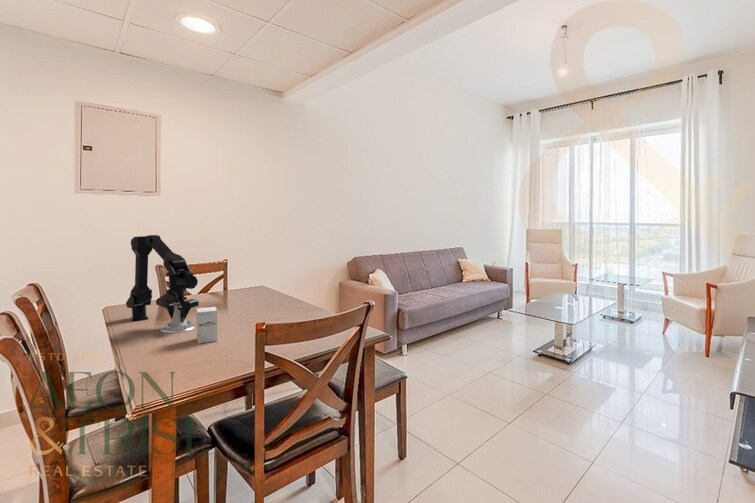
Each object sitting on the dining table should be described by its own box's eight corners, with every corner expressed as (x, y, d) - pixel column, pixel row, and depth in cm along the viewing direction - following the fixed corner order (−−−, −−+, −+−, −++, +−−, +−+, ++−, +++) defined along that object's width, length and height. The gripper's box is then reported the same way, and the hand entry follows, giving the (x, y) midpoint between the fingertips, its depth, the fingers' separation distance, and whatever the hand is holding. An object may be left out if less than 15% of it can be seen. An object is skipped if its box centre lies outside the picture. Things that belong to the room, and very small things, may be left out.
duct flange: (157, 327, 165) (157, 323, 165) (191, 321, 174) (191, 317, 174) (163, 335, 154) (163, 330, 154) (199, 328, 163) (199, 324, 163)
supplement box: (197, 344, 144) (196, 312, 143) (196, 338, 151) (195, 307, 150) (218, 341, 148) (217, 310, 147) (216, 335, 154) (215, 306, 153)
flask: (177, 330, 160) (177, 307, 159) (165, 328, 162) (164, 305, 161) (191, 325, 166) (190, 303, 165) (179, 324, 169) (178, 302, 168)
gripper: (143, 288, 158) (145, 324, 159) (177, 291, 152) (179, 329, 153) (166, 283, 168) (168, 317, 170) (199, 286, 162) (200, 321, 164)
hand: (178, 321), depth 164 cm, fingers closed on flask, 5 cm apart
